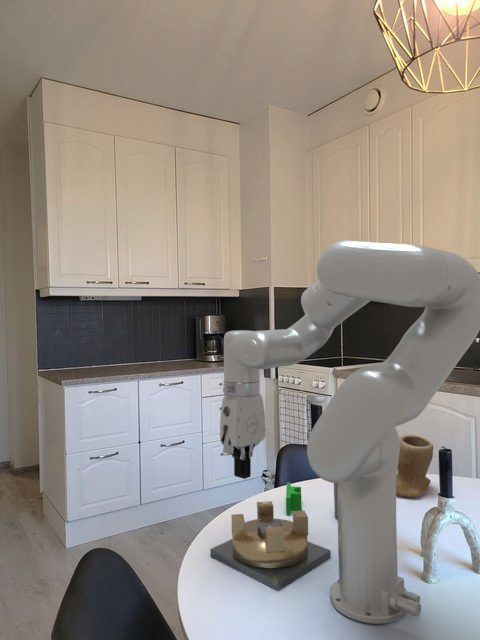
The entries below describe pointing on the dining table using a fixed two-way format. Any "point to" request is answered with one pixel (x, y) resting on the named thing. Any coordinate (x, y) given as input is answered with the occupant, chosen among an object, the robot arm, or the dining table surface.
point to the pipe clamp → (293, 499)
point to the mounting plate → (272, 576)
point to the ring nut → (270, 538)
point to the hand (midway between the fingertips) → (242, 476)
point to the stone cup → (413, 465)
